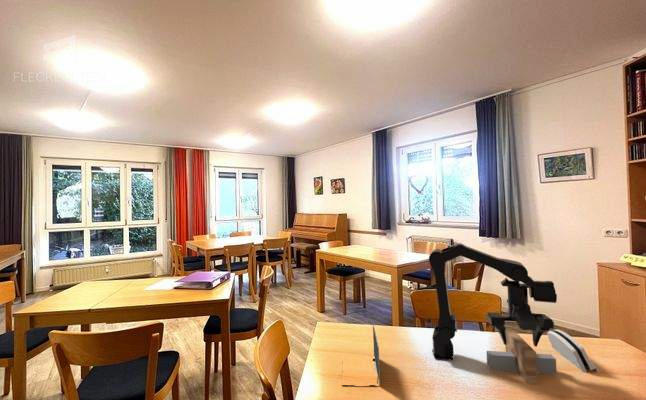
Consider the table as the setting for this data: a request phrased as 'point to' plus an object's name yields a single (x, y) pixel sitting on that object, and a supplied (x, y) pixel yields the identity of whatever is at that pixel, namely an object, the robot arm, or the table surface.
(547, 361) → the notched gray bar
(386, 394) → the table surface
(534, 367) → the walnut slat
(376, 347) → the laptop
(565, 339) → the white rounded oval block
